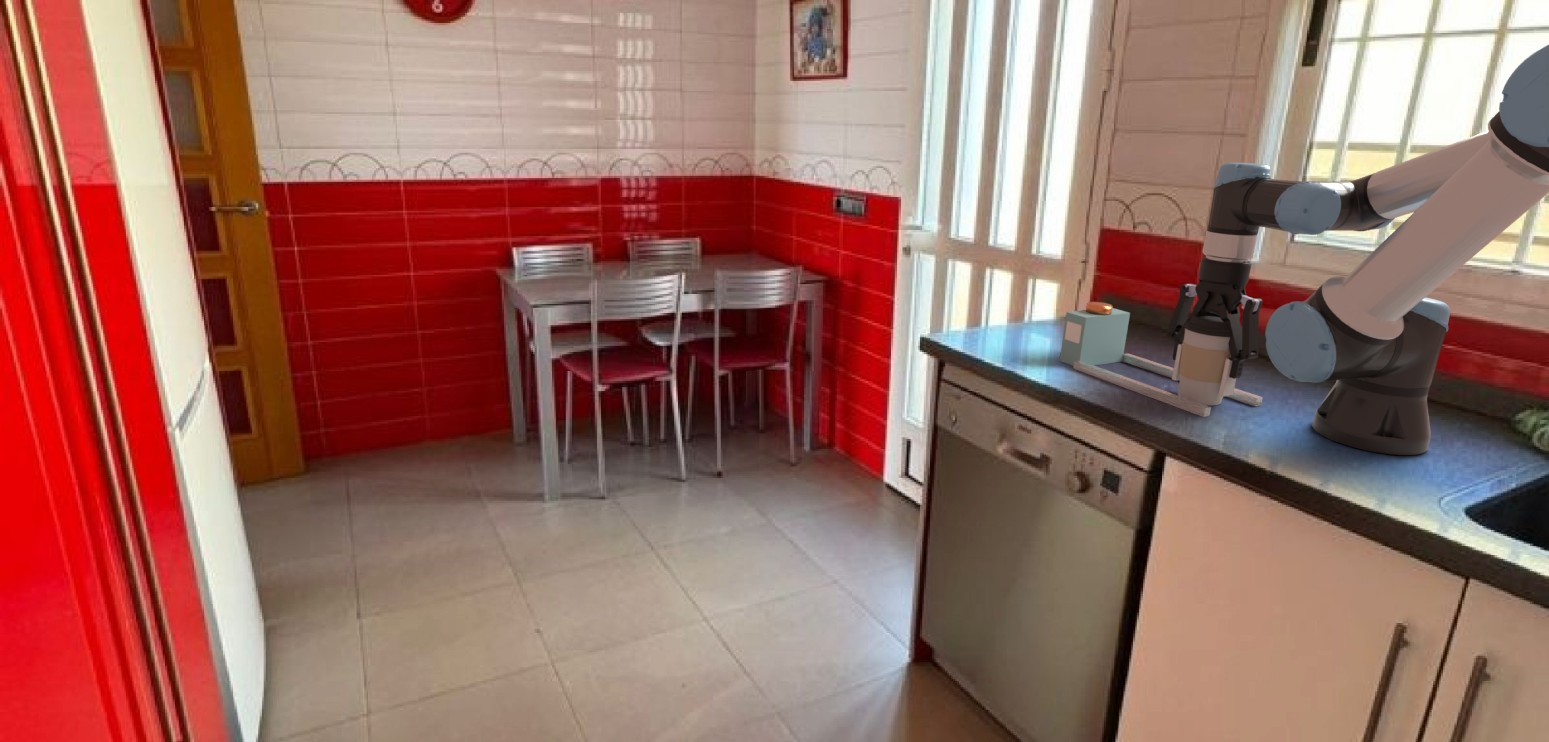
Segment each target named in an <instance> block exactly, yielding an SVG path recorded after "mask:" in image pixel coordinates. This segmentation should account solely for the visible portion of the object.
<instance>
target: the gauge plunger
mask: <svg viewBox="0 0 1549 742" xmlns="http://www.w3.org/2000/svg"><path fill="white" fill-rule="evenodd" d="M1085 305H1086V306H1085V310H1086V311H1087V312H1089V313H1093V314H1098V315H1108V314H1111V313H1112V308H1114V307H1113V305H1112V304H1110V303H1107V302H1101V301H1100V302H1099V301H1090V302H1089V301H1087V302H1086V304H1085Z"/></svg>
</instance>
